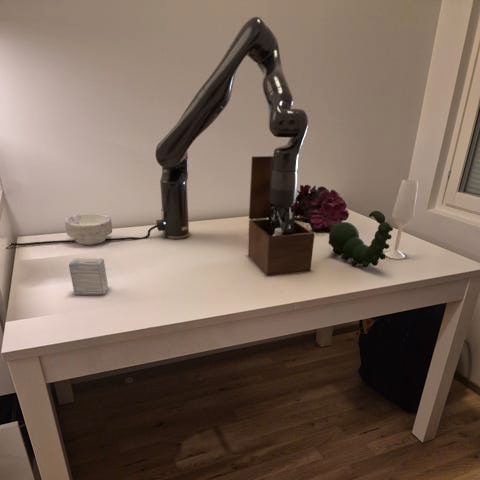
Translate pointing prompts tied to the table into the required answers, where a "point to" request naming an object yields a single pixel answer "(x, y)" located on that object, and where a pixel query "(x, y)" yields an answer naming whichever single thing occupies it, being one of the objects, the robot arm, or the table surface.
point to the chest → (280, 248)
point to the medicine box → (88, 276)
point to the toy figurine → (360, 242)
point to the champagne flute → (403, 212)
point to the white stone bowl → (88, 228)
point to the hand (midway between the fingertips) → (279, 241)
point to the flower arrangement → (319, 208)
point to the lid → (260, 187)
